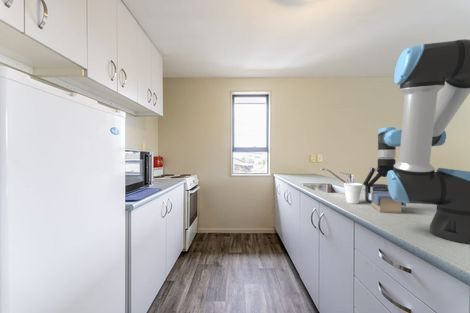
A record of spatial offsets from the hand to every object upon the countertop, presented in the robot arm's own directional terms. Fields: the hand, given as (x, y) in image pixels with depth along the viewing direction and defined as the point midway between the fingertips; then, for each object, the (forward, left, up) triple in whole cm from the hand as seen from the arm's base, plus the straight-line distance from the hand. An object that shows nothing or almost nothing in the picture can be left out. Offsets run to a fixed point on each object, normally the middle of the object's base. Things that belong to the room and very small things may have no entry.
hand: (385, 200), depth 115 cm
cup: (+12, +12, -5) cm, 18 cm away
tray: (0, 0, -5) cm, 5 cm away
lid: (0, 0, -1) cm, 1 cm away
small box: (+19, -2, -5) cm, 20 cm away
